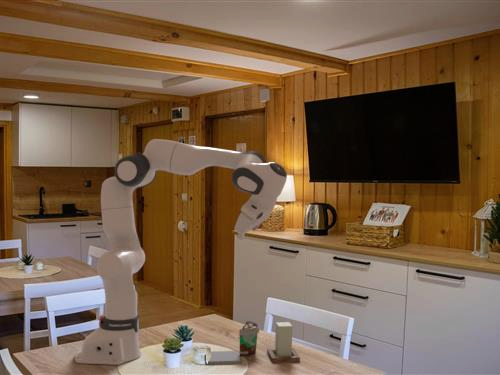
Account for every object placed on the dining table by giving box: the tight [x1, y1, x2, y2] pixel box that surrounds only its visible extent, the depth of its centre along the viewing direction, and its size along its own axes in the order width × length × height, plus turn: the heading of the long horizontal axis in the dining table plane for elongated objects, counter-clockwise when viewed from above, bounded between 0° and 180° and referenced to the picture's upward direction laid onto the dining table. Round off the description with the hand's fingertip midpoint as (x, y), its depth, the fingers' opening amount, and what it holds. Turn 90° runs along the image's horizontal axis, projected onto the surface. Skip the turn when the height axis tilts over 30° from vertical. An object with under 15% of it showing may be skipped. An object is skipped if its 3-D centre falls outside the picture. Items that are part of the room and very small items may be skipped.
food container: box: [238, 320, 260, 357], centre depth 189 cm, size 12×6×10 cm, turn 168°
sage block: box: [274, 321, 293, 357], centre depth 184 cm, size 5×5×12 cm
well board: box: [266, 347, 301, 363], centre depth 184 cm, size 10×10×2 cm
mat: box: [207, 350, 242, 365], centre depth 181 cm, size 12×10×1 cm
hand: (247, 233), depth 187 cm, fingers open, 8 cm apart
